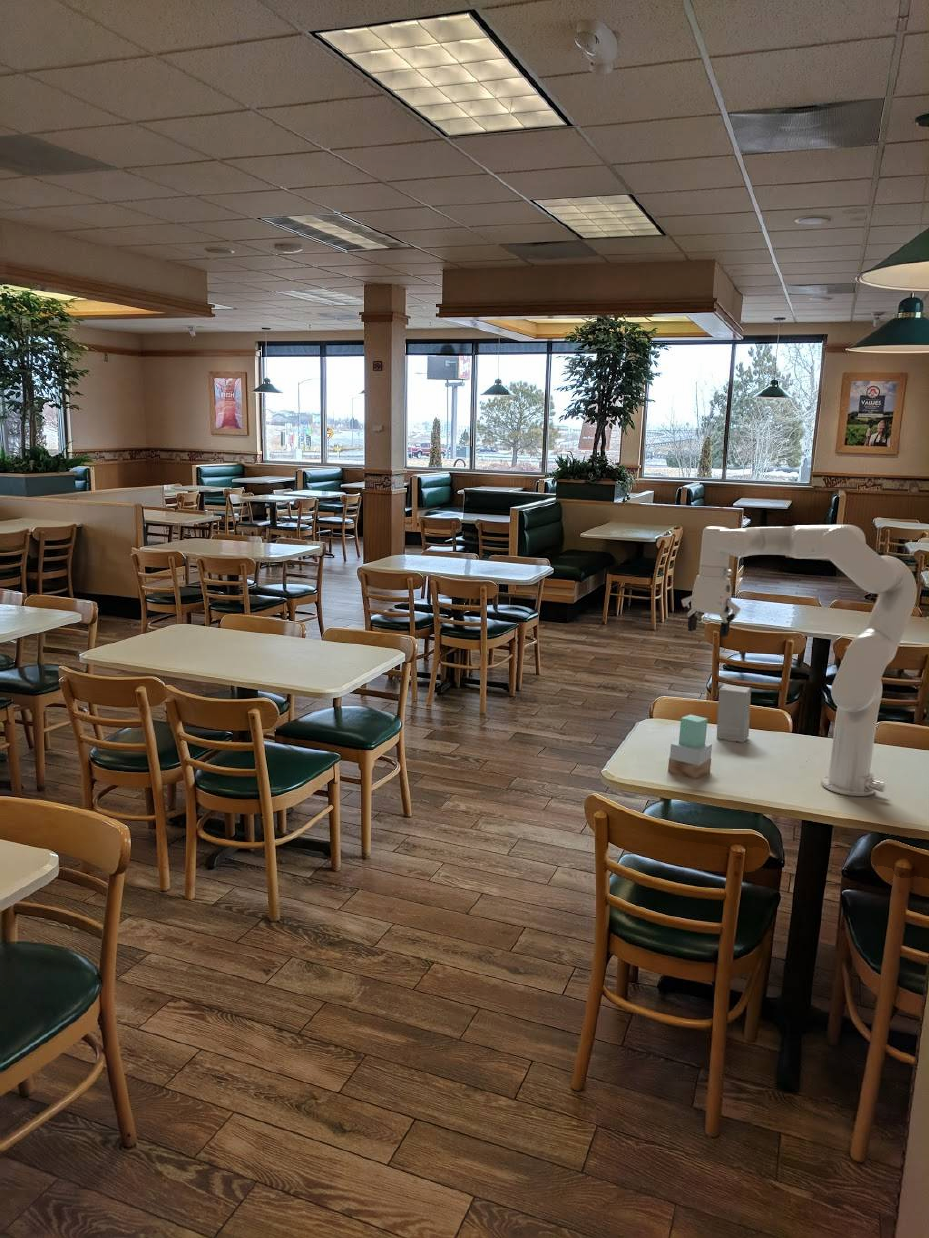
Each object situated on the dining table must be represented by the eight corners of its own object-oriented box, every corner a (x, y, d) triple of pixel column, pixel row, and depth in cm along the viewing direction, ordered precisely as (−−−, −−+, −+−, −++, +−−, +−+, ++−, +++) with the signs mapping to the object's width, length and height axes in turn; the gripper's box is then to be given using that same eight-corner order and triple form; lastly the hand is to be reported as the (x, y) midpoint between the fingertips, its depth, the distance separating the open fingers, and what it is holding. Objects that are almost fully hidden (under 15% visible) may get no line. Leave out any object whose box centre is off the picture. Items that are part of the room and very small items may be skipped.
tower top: (710, 758, 236) (712, 743, 235) (698, 765, 230) (699, 751, 229) (682, 751, 241) (683, 737, 240) (669, 758, 234) (671, 743, 234)
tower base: (709, 773, 236) (711, 758, 235) (695, 780, 230) (696, 765, 230) (683, 765, 242) (684, 751, 241) (667, 772, 236) (669, 757, 235)
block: (705, 744, 235) (707, 718, 233) (695, 748, 231) (698, 722, 230) (688, 739, 238) (690, 714, 237) (678, 743, 234) (681, 717, 233)
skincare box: (748, 738, 267) (753, 687, 264) (742, 744, 261) (748, 692, 258) (720, 733, 271) (725, 682, 268) (713, 738, 265) (718, 687, 262)
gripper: (749, 575, 239) (743, 637, 242) (692, 567, 251) (687, 627, 254) (735, 577, 234) (729, 640, 237) (678, 569, 246) (673, 629, 249)
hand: (707, 633), depth 246 cm, fingers open, 9 cm apart
